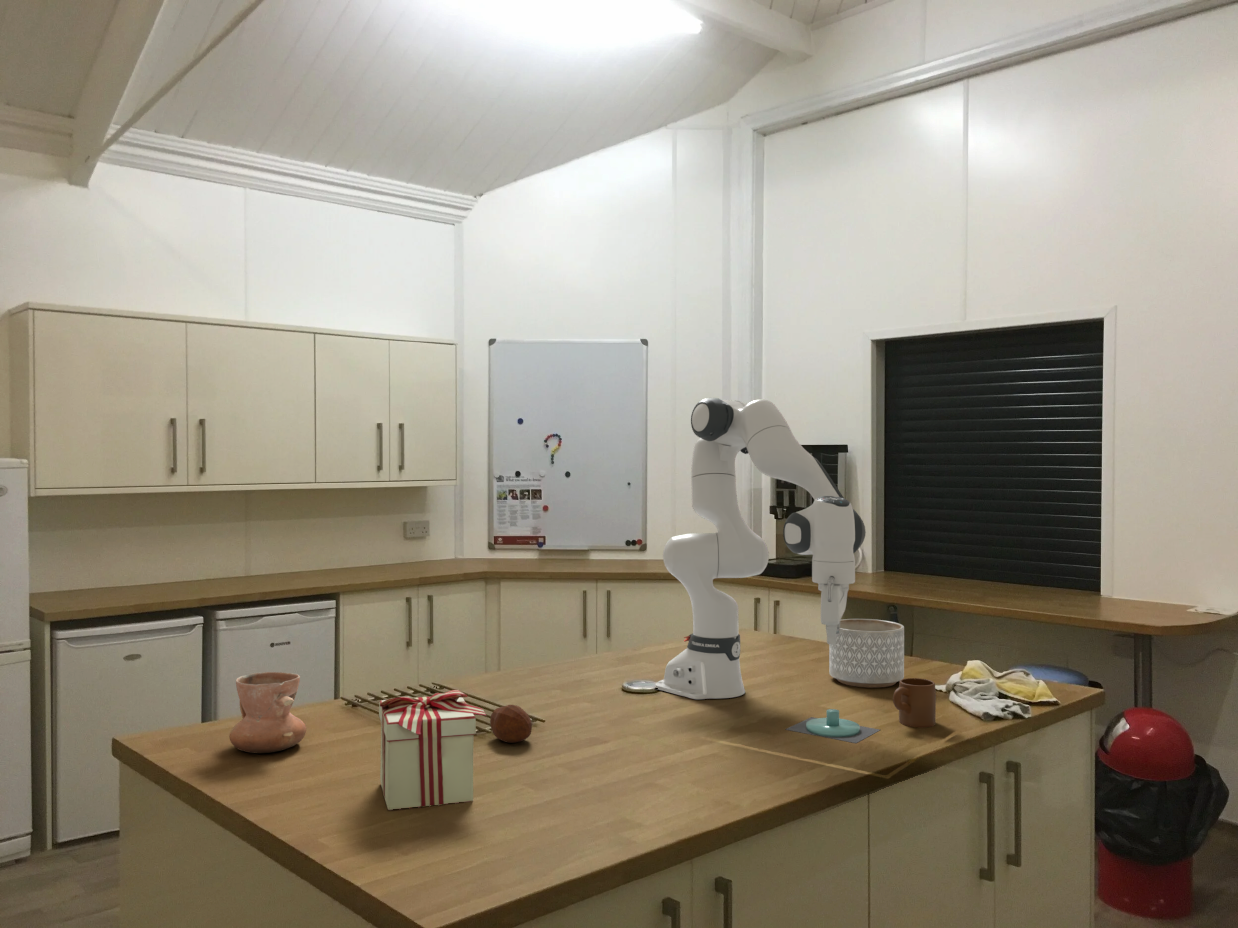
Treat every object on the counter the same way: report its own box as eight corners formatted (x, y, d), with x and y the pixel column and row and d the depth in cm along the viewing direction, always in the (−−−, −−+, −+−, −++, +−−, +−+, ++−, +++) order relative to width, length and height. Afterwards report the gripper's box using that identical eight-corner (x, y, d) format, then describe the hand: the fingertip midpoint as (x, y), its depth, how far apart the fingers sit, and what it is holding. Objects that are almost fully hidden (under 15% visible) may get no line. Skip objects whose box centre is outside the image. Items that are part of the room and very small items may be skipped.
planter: (912, 678, 258) (913, 622, 258) (891, 692, 242) (891, 634, 242) (843, 669, 268) (843, 616, 268) (818, 683, 252) (818, 626, 252)
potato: (509, 731, 209) (509, 696, 209) (544, 741, 202) (544, 705, 202) (478, 740, 203) (478, 704, 203) (513, 751, 196) (513, 713, 196)
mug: (910, 736, 206) (910, 690, 206) (879, 728, 212) (879, 684, 211) (942, 725, 213) (942, 682, 213) (912, 718, 219) (912, 676, 219)
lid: (796, 730, 208) (796, 711, 208) (820, 719, 216) (820, 701, 216) (845, 740, 201) (845, 720, 201) (868, 728, 209) (868, 709, 209)
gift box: (391, 820, 160) (391, 713, 159) (372, 784, 177) (371, 688, 176) (494, 804, 166) (493, 702, 166) (465, 772, 183) (465, 679, 183)
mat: (785, 731, 209) (785, 729, 209) (811, 719, 218) (811, 716, 218) (856, 745, 199) (856, 742, 199) (880, 732, 208) (880, 729, 208)
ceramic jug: (323, 748, 198) (322, 676, 198) (254, 764, 187) (253, 688, 187) (278, 732, 210) (278, 665, 210) (211, 746, 200) (210, 676, 200)
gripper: (845, 580, 197) (845, 649, 197) (851, 569, 217) (851, 632, 217) (813, 579, 199) (813, 648, 199) (822, 568, 219) (822, 630, 219)
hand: (833, 639), depth 208 cm, fingers open, 8 cm apart
